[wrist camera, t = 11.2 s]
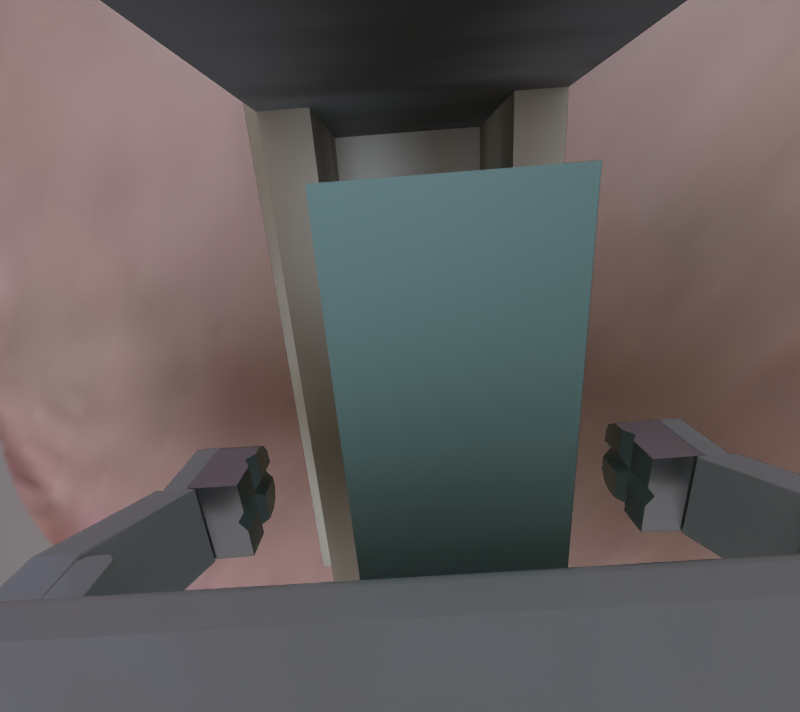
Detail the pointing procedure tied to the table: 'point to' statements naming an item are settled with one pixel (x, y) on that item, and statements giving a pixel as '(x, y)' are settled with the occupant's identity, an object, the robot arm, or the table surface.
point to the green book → (458, 361)
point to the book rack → (380, 132)
